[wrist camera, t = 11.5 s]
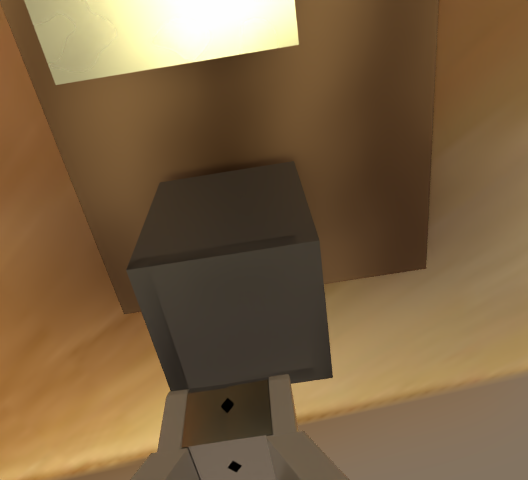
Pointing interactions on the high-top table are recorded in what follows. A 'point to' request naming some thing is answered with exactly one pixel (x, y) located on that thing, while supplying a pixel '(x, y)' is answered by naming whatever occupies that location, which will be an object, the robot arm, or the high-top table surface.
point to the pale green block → (154, 33)
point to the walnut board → (264, 131)
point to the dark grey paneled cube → (233, 279)
